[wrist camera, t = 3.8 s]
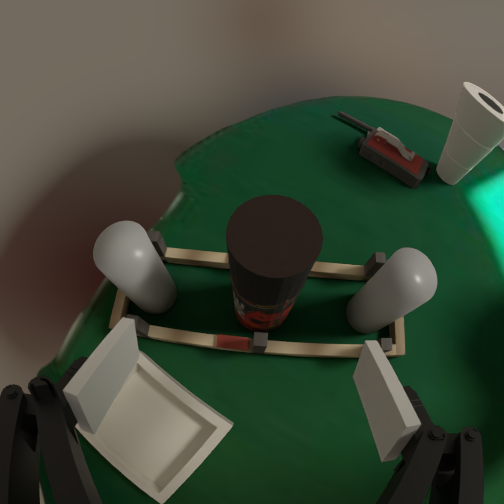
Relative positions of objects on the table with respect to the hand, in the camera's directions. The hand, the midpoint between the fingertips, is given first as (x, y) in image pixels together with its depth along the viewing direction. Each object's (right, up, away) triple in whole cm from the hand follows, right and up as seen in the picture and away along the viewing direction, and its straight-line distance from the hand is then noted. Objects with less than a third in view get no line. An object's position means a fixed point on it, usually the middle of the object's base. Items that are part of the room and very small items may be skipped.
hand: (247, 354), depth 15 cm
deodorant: (+1, 0, +16) cm, 16 cm away
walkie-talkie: (+22, +23, +29) cm, 43 cm away
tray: (-10, -13, +9) cm, 18 cm away
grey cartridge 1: (-11, +1, +16) cm, 19 cm away
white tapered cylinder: (+36, +20, +27) cm, 49 cm away
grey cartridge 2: (+13, -1, +15) cm, 20 cm away
